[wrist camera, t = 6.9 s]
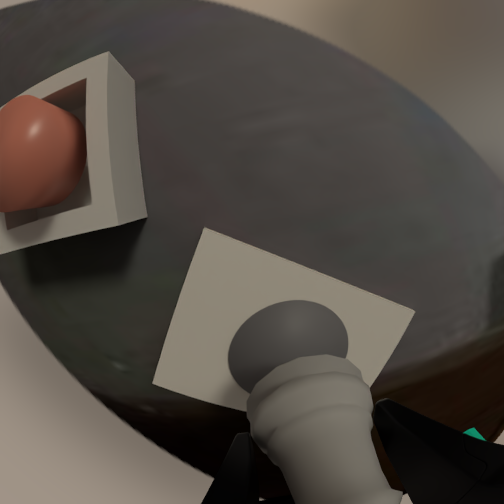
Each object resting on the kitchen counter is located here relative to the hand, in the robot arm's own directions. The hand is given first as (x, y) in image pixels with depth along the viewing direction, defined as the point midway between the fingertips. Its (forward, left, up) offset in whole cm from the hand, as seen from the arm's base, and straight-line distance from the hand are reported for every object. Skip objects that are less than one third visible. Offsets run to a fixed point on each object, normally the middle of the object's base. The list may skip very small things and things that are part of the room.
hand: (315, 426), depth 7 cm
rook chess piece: (0, 0, -2) cm, 2 cm away
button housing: (+10, +8, -5) cm, 14 cm away
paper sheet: (0, 0, -5) cm, 5 cm away
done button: (+10, +8, -3) cm, 13 cm away
